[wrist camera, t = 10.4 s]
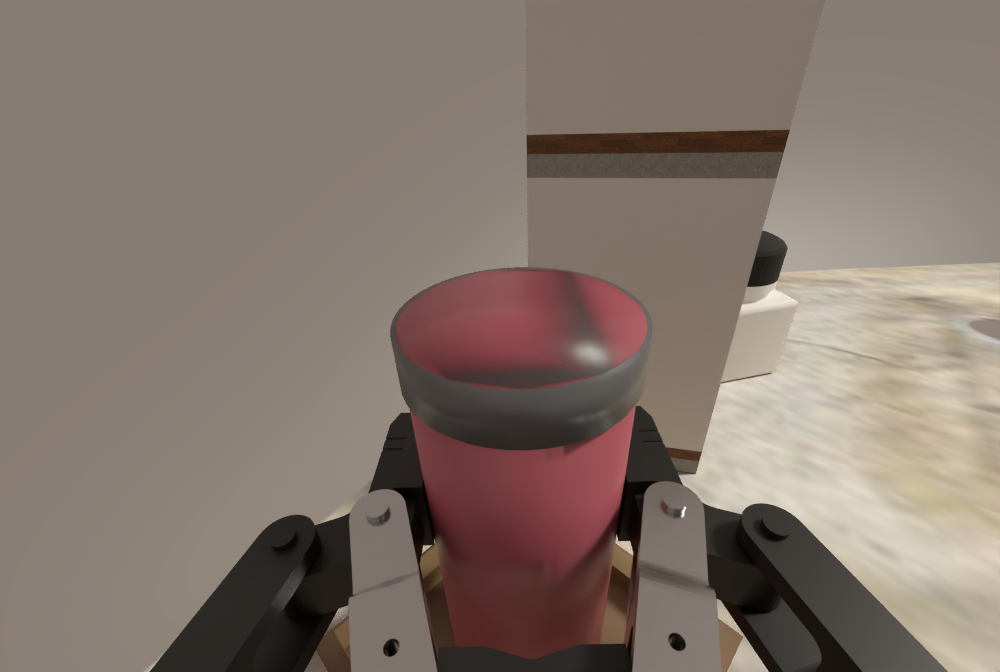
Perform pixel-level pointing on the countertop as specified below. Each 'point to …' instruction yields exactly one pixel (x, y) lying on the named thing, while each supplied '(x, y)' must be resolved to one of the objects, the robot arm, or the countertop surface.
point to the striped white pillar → (663, 168)
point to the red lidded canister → (523, 445)
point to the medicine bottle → (761, 315)
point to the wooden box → (338, 640)
